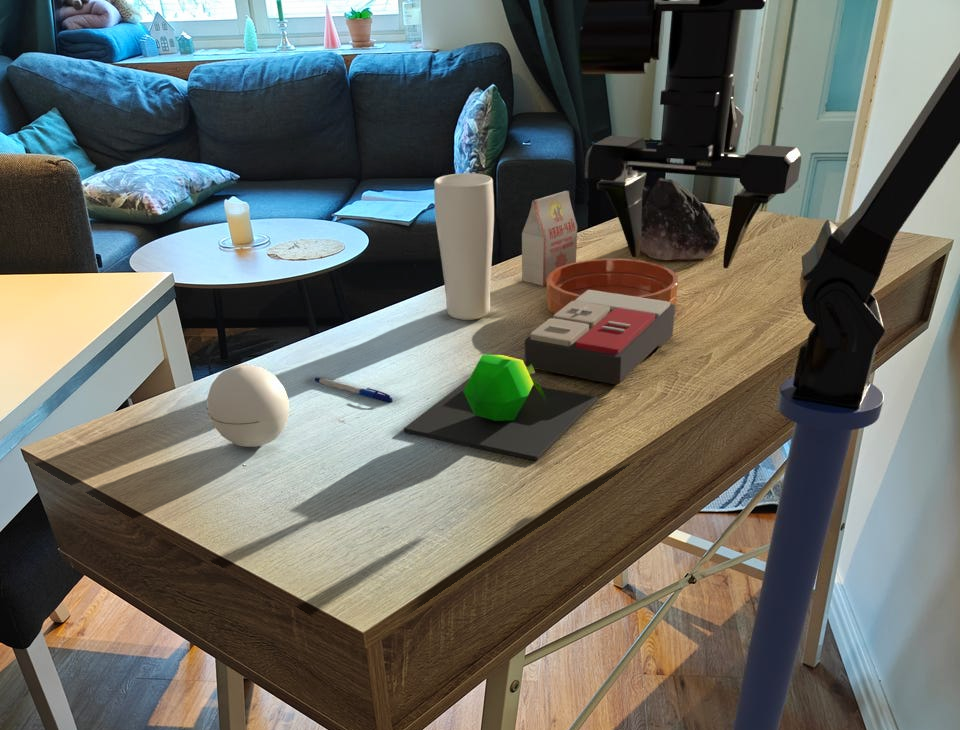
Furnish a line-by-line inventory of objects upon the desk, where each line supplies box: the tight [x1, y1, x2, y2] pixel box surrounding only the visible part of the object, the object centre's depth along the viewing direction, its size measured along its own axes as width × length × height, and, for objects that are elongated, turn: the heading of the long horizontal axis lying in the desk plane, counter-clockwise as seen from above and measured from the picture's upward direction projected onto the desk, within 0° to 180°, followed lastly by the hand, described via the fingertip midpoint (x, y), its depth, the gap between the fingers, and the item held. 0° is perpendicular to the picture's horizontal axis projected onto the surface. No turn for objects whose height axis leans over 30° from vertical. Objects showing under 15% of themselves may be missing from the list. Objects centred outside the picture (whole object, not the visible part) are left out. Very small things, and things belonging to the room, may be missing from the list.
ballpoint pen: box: [314, 377, 393, 404], centre depth 92 cm, size 10×1×1 cm, turn 56°
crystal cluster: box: [639, 177, 721, 261], centre depth 125 cm, size 13×14×10 cm
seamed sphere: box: [193, 363, 290, 448], centre depth 81 cm, size 10×7×7 cm
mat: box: [403, 377, 598, 462], centre depth 87 cm, size 14×14×1 cm
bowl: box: [545, 258, 679, 315], centre depth 109 cm, size 16×16×4 cm
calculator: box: [524, 290, 676, 385], centre depth 96 cm, size 11×4×15 cm
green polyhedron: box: [463, 353, 547, 421], centre depth 85 cm, size 7×6×9 cm
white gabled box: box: [521, 190, 578, 287], centre depth 117 cm, size 4×7×10 cm, turn 136°
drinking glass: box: [433, 172, 495, 321], centre depth 105 cm, size 7×7×15 cm
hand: (680, 261), depth 87 cm, fingers open, 9 cm apart
